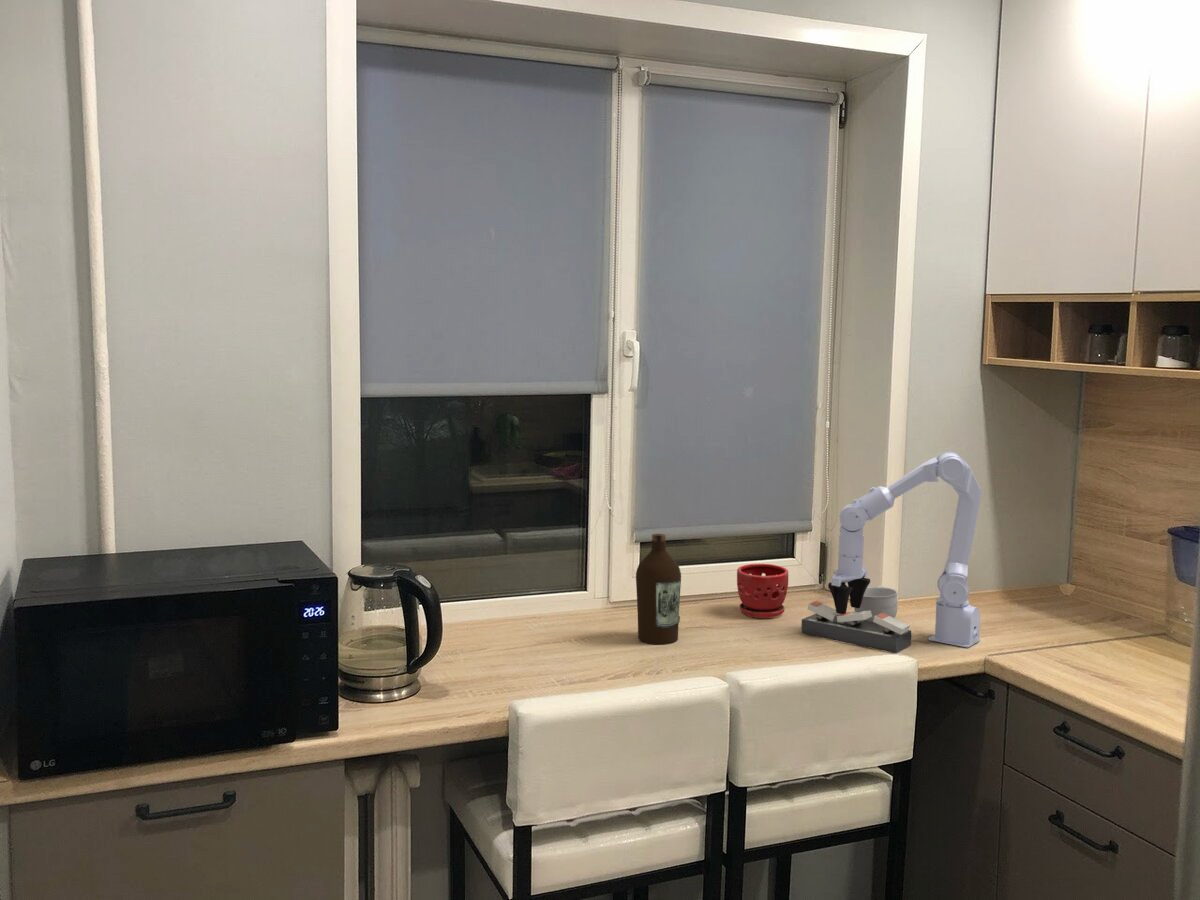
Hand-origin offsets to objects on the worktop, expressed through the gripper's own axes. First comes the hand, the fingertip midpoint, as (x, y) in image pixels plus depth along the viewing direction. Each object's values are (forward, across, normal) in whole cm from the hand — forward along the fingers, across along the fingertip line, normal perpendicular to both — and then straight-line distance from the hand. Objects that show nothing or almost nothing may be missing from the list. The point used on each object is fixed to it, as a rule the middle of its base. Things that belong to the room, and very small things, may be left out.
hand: (848, 610), depth 243 cm
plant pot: (+6, -1, -25) cm, 26 cm away
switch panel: (+6, +4, +4) cm, 8 cm away
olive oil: (+6, +34, -32) cm, 47 cm away
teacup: (+6, -16, 0) cm, 17 cm away
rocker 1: (+2, +4, -5) cm, 6 cm away
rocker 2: (+2, +4, +4) cm, 5 cm away
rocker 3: (+1, +4, +12) cm, 13 cm away
